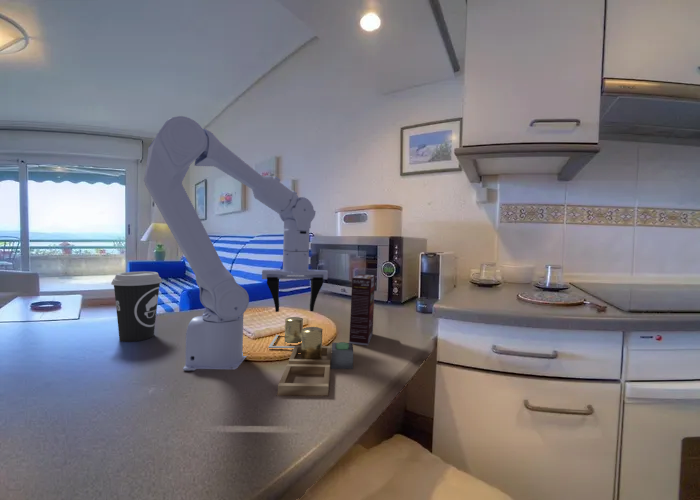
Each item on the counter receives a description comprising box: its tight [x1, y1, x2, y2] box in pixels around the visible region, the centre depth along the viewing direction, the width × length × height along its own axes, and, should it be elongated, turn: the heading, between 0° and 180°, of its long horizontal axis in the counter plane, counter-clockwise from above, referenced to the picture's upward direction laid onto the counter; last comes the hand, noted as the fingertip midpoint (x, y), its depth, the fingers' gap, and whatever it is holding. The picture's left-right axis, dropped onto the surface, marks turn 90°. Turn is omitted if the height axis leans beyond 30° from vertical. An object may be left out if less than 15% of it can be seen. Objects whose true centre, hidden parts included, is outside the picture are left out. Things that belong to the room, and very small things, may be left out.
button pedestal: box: [331, 342, 354, 370], centre depth 55 cm, size 4×4×4 cm
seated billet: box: [300, 326, 323, 360], centre depth 56 cm, size 4×4×6 cm
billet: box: [284, 316, 304, 343], centre depth 66 cm, size 4×4×6 cm
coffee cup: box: [111, 271, 163, 343], centre depth 67 cm, size 10×10×15 cm
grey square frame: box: [267, 334, 295, 349], centre depth 66 cm, size 9×9×1 cm
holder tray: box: [276, 345, 332, 397], centre depth 52 cm, size 8×17×2 cm, turn 2°
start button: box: [336, 341, 349, 349], centre depth 55 cm, size 2×2×4 cm
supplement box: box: [348, 273, 376, 346], centre depth 70 cm, size 9×5×16 cm, turn 168°
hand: (294, 310), depth 66 cm, fingers open, 7 cm apart
